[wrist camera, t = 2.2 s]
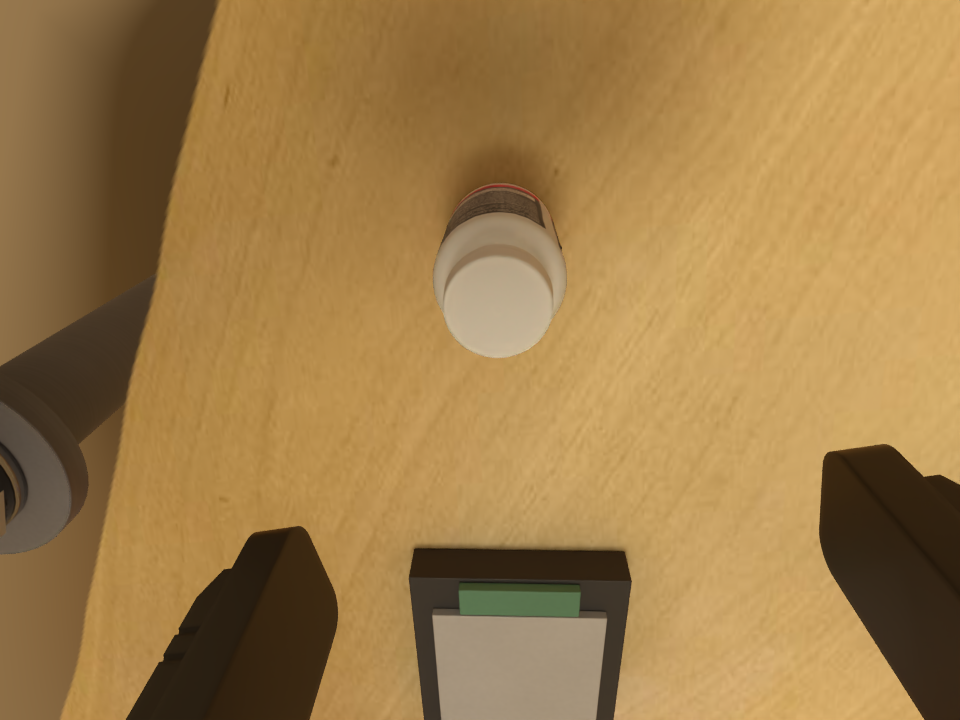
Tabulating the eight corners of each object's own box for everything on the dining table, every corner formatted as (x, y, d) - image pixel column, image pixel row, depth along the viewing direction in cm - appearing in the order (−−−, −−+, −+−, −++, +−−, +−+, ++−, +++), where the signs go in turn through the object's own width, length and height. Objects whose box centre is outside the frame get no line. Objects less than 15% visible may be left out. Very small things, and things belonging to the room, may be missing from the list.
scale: (414, 548, 39) (406, 586, 36) (624, 551, 39) (634, 590, 36) (429, 698, 46) (423, 739, 44) (606, 702, 46) (612, 745, 43)
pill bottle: (425, 234, 29) (391, 305, 21) (503, 156, 28) (501, 199, 19) (498, 306, 31) (495, 401, 22) (576, 238, 29) (606, 312, 21)
